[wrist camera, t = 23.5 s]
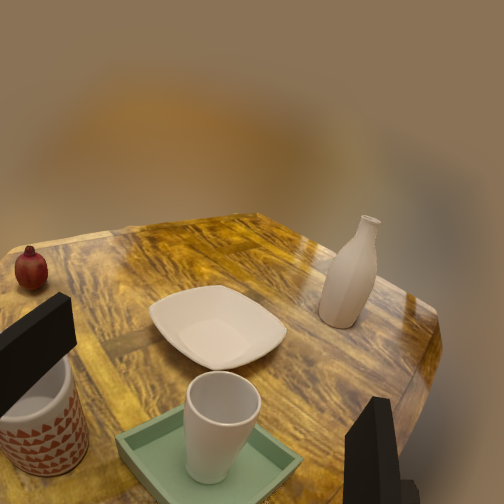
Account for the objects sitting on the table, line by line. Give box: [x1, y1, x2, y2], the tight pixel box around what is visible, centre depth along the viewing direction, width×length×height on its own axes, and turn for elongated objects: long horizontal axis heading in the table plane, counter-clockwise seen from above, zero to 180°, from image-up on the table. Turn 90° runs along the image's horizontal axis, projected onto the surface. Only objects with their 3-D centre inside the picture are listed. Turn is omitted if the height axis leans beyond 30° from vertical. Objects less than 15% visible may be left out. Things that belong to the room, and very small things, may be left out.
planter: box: [0, 332, 89, 476], centre depth 25 cm, size 14×14×13 cm
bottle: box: [318, 215, 381, 329], centre depth 67 cm, size 11×11×25 cm
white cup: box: [183, 371, 261, 484], centre depth 28 cm, size 7×7×15 cm
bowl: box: [149, 285, 287, 371], centre depth 54 cm, size 22×22×5 cm
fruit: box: [15, 246, 48, 290], centre depth 52 cm, size 8×8×10 cm
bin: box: [115, 403, 304, 504], centre depth 30 cm, size 16×16×5 cm
